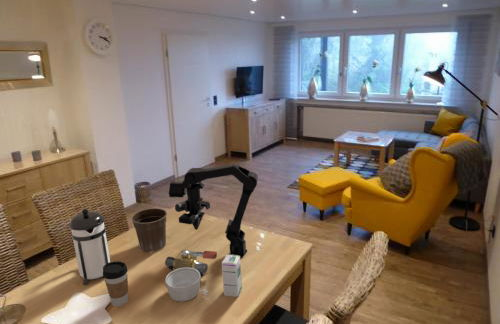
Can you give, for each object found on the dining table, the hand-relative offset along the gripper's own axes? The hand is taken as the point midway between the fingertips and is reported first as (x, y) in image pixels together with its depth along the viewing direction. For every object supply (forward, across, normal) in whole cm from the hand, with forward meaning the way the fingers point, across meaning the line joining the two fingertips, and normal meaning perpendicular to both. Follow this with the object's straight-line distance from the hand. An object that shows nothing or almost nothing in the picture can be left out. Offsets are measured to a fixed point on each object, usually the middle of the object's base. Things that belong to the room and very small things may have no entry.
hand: (196, 229), depth 158 cm
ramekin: (+12, +27, +8) cm, 31 cm away
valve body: (+12, +14, +2) cm, 19 cm away
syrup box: (+12, +21, +26) cm, 36 cm away
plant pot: (+12, +1, -24) cm, 27 cm away
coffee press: (+12, +28, -34) cm, 46 cm away
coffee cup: (+12, +39, -12) cm, 43 cm away
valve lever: (+5, +13, +8) cm, 16 cm away
